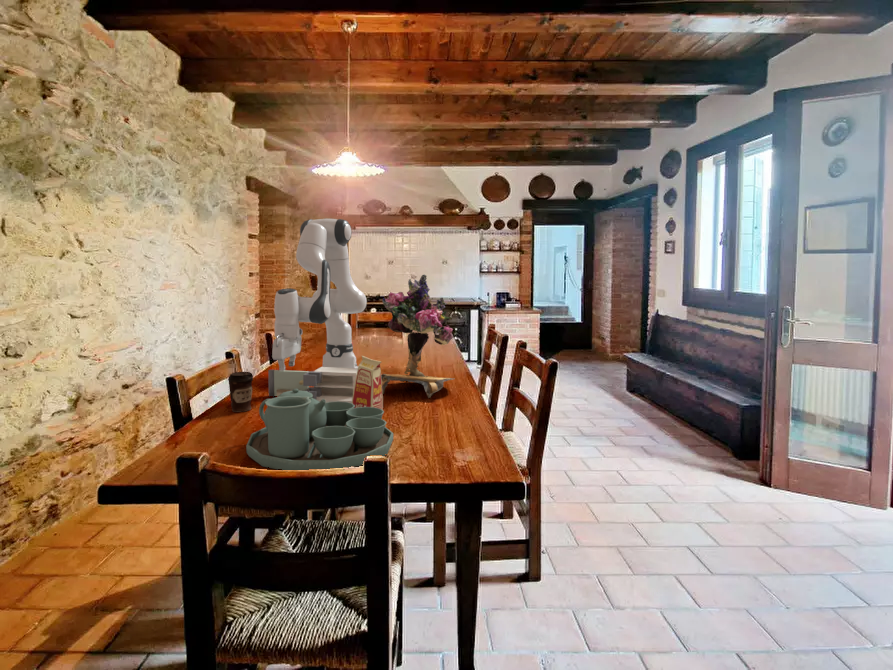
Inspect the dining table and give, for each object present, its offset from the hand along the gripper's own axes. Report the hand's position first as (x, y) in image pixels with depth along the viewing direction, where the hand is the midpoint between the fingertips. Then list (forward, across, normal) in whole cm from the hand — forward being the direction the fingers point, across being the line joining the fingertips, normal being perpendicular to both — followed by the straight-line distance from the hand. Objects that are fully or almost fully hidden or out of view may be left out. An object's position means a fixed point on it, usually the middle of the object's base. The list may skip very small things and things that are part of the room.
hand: (287, 368), depth 212 cm
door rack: (+11, +1, -2) cm, 11 cm away
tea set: (+12, -54, -30) cm, 63 cm away
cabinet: (+11, -2, -19) cm, 22 cm away
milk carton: (+12, -17, -36) cm, 41 cm away
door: (+11, 0, 0) cm, 11 cm away
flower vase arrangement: (+11, +20, -46) cm, 52 cm away
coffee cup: (+12, -20, +8) cm, 25 cm away
